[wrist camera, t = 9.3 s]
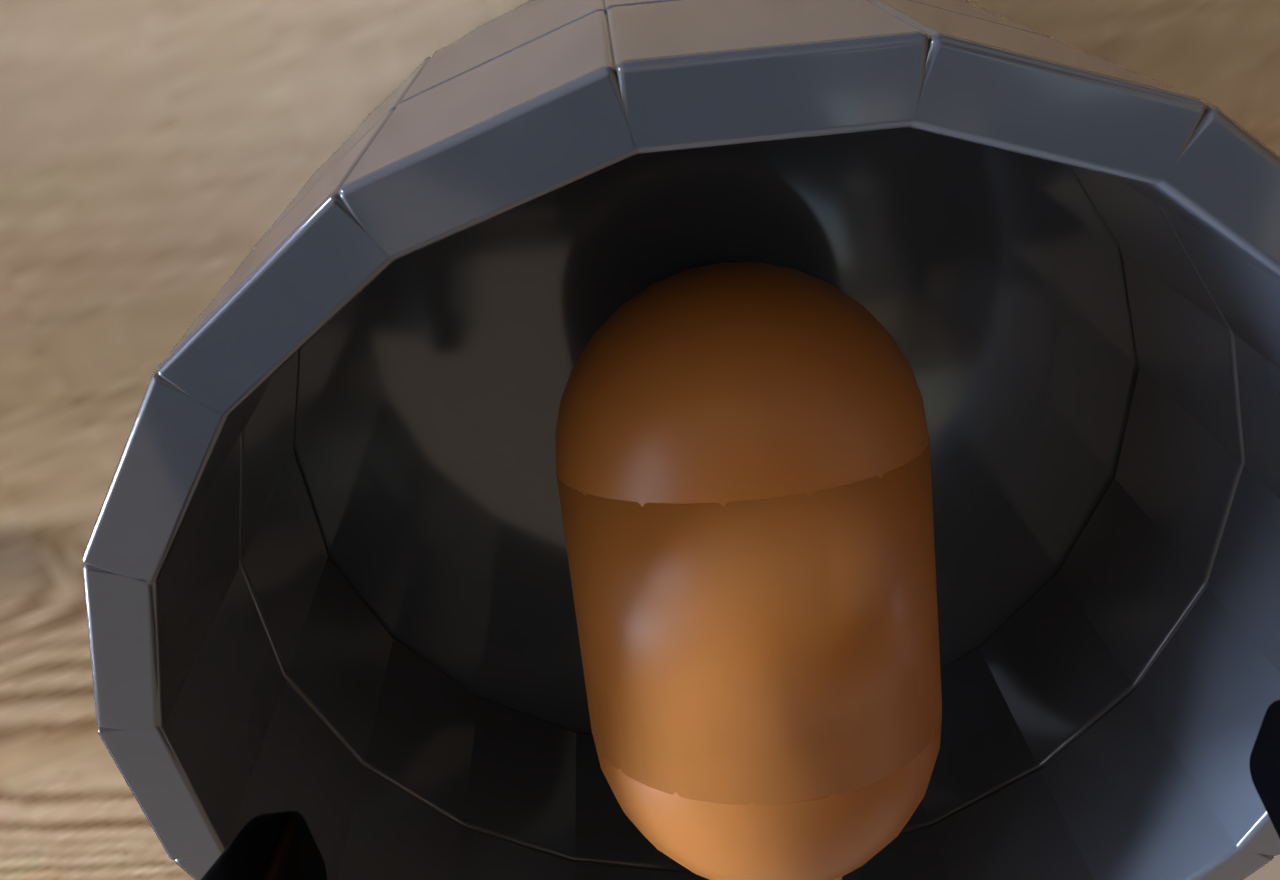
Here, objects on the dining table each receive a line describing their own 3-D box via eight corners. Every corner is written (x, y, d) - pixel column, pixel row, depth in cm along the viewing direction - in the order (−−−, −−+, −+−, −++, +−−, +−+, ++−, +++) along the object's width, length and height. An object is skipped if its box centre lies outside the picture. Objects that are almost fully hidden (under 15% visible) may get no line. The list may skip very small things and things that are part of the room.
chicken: (902, 890, 15) (1013, 1147, 11) (630, 922, 15) (638, 1191, 11) (862, 238, 12) (983, 243, 8) (544, 275, 12) (511, 298, 8)
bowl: (1075, 698, 17) (1255, 1009, 13) (381, 768, 17) (308, 1104, 13) (1260, -100, 11) (1789, -55, 6) (118, 14, 11) (-244, 148, 6)
